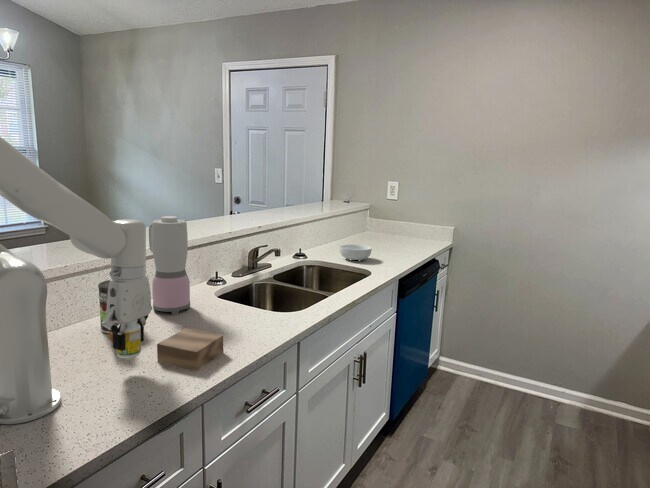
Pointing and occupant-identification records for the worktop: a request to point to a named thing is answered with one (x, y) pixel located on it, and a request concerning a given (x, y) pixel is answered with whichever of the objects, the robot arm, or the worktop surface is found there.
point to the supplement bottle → (131, 340)
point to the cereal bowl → (355, 251)
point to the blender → (170, 264)
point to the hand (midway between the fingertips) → (128, 344)
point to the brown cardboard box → (190, 349)
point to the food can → (103, 302)
